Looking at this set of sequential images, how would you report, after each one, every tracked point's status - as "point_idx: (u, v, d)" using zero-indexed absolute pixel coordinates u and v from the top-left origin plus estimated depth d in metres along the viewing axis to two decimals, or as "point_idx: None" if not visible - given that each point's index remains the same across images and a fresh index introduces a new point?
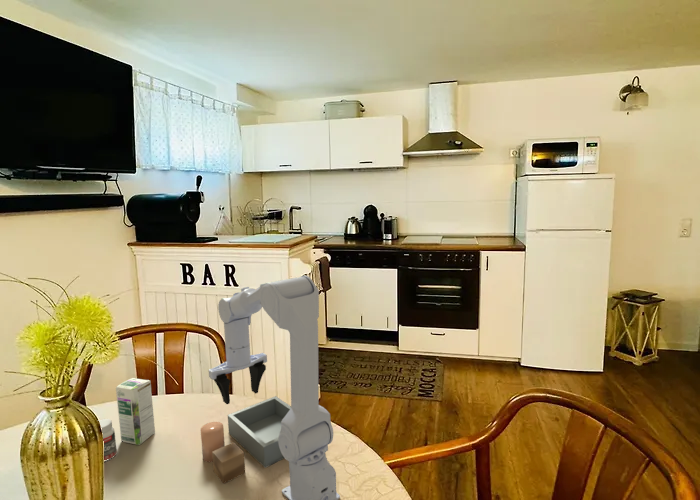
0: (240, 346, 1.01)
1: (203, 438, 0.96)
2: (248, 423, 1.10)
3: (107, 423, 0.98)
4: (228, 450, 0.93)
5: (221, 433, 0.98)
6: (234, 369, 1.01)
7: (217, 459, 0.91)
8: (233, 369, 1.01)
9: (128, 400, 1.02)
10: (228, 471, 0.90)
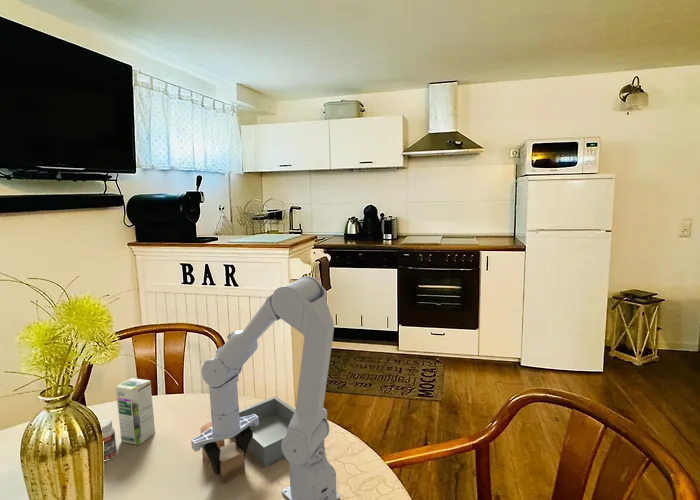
0: (233, 410, 0.89)
1: None
2: None
3: (107, 423, 0.98)
4: (228, 450, 0.93)
5: None
6: (220, 438, 0.88)
7: None
8: (219, 438, 0.88)
9: (128, 400, 1.02)
10: (227, 470, 0.90)
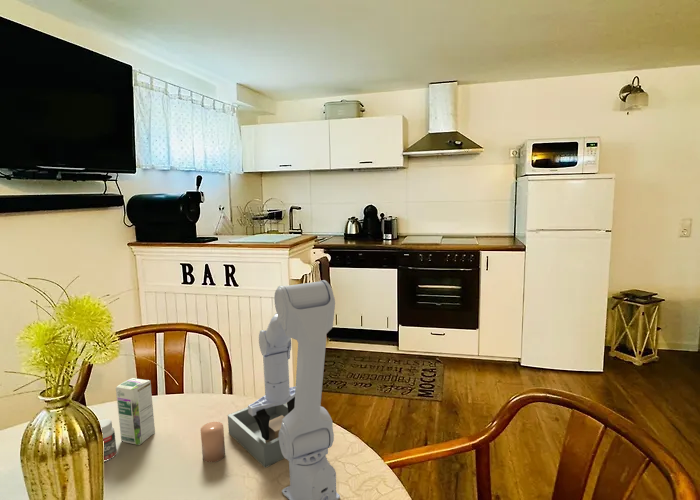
0: (277, 381, 0.97)
1: (203, 438, 0.96)
2: (248, 423, 1.10)
3: (107, 423, 0.98)
4: (279, 421, 1.03)
5: (221, 433, 0.98)
6: (274, 404, 0.98)
7: (270, 429, 1.00)
8: (273, 404, 0.97)
9: (128, 400, 1.02)
10: None
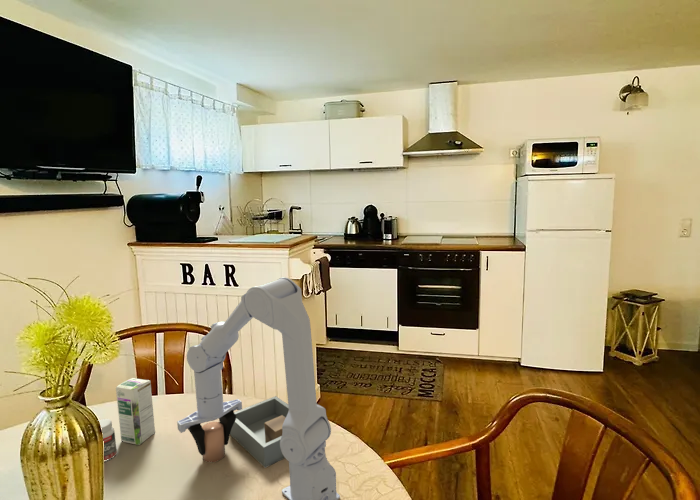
0: (215, 394, 0.95)
1: None
2: (248, 423, 1.10)
3: (107, 423, 0.98)
4: (279, 421, 1.03)
5: (221, 433, 0.98)
6: (205, 420, 0.94)
7: (270, 429, 1.00)
8: (204, 420, 0.94)
9: (128, 400, 1.02)
10: None
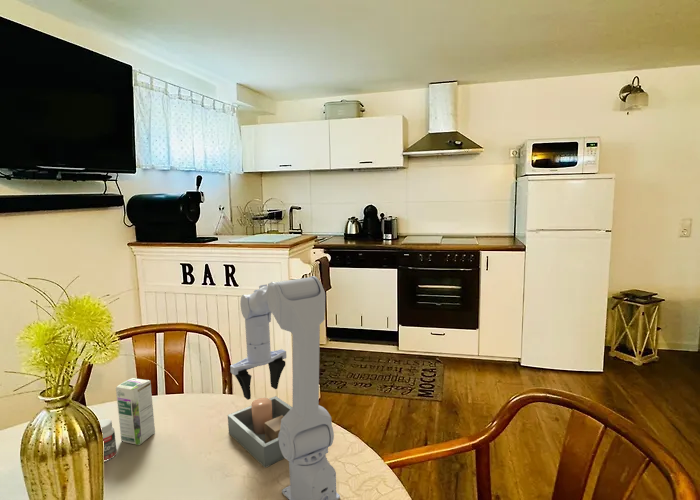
0: (259, 342, 1.02)
1: (254, 412, 1.06)
2: (248, 423, 1.10)
3: (107, 423, 0.98)
4: (279, 421, 1.03)
5: (270, 408, 1.07)
6: (255, 365, 1.02)
7: (270, 429, 1.00)
8: (254, 365, 1.02)
9: (128, 400, 1.02)
10: None
